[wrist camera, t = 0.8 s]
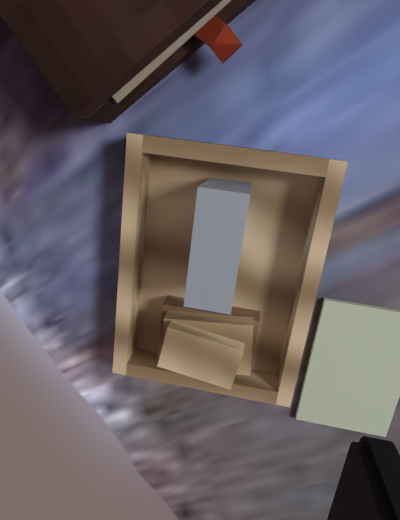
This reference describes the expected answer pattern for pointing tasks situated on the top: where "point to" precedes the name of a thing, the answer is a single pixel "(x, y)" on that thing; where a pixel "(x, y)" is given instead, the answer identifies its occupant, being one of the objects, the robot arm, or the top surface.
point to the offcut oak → (220, 330)
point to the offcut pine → (201, 354)
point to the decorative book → (116, 45)
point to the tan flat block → (178, 305)
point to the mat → (353, 368)
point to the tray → (251, 259)
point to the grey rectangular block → (216, 244)
